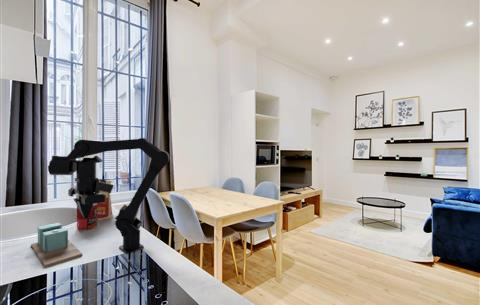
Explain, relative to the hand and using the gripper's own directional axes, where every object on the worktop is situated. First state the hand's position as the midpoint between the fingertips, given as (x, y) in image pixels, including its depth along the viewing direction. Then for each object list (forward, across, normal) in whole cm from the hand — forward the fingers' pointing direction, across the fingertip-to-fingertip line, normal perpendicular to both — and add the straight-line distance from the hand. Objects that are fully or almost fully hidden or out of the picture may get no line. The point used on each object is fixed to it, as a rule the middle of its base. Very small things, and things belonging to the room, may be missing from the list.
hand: (86, 218), depth 81 cm
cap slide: (+11, +8, +7) cm, 16 cm away
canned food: (+12, +25, -8) cm, 29 cm away
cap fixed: (+11, +16, +7) cm, 21 cm away
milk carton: (+12, +35, -18) cm, 41 cm away
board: (+12, +8, +7) cm, 16 cm away
